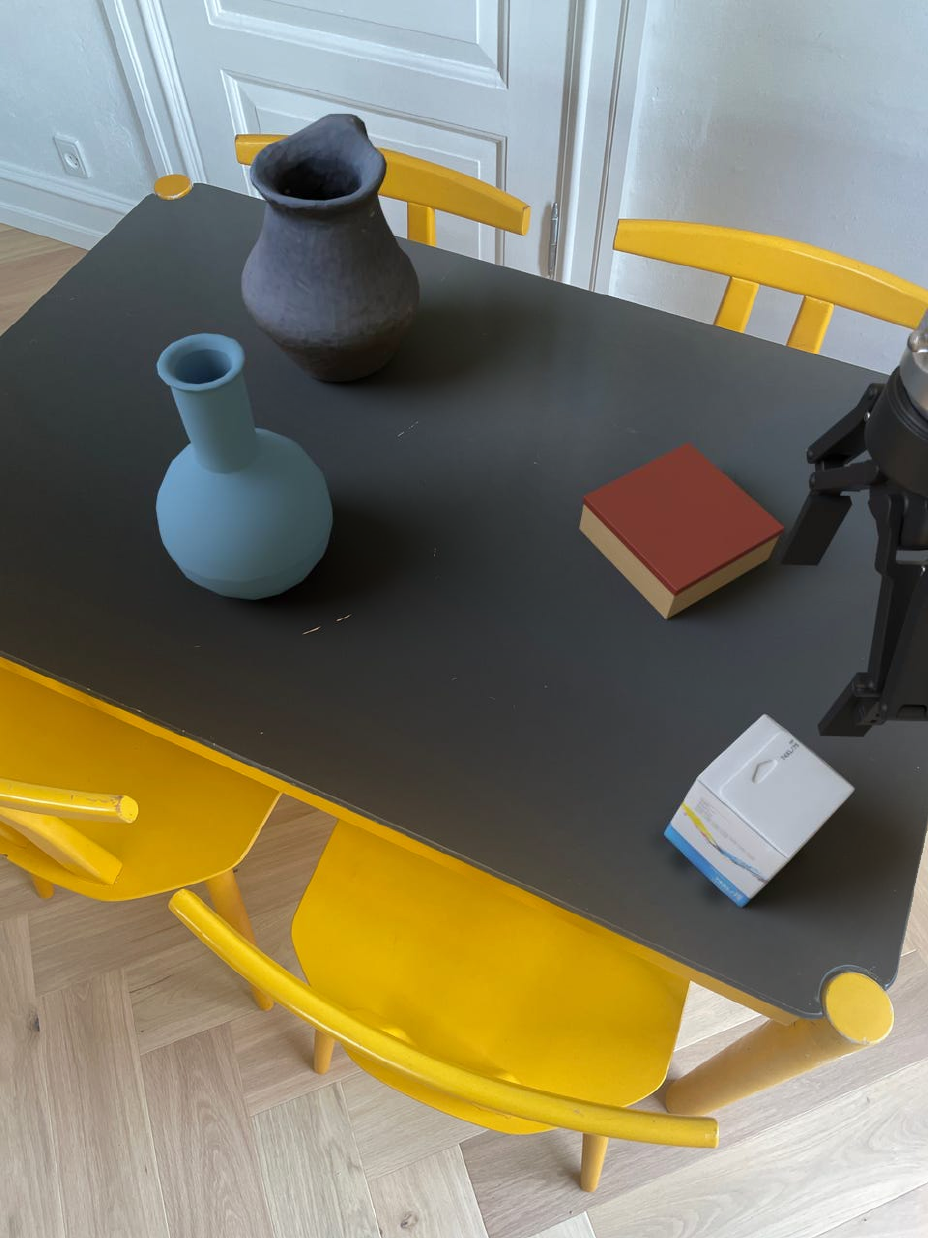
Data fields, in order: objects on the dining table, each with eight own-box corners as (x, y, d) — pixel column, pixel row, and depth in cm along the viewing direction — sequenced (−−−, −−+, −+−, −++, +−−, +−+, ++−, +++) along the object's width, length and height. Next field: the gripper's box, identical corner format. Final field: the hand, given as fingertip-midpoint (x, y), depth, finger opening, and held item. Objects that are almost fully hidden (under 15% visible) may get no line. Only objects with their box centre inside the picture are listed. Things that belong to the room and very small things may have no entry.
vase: (364, 518, 92) (337, 318, 71) (301, 641, 83) (250, 454, 62) (223, 482, 94) (159, 280, 74) (148, 598, 85) (51, 405, 65)
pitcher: (232, 395, 102) (176, 191, 82) (294, 288, 114) (259, 86, 94) (397, 424, 100) (383, 221, 79) (444, 311, 112) (441, 109, 91)
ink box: (741, 911, 69) (787, 863, 59) (660, 833, 72) (692, 777, 63) (805, 843, 72) (859, 787, 62) (725, 772, 75) (765, 709, 66)
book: (769, 559, 89) (785, 527, 85) (665, 621, 84) (676, 590, 80) (678, 475, 96) (688, 442, 91) (577, 528, 91) (583, 496, 87)
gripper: (836, 239, 47) (733, 500, 65) (978, 609, 33) (798, 815, 51) (972, 242, 47) (832, 503, 65) (1173, 613, 33) (925, 819, 51)
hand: (817, 640), depth 58 cm, fingers open, 13 cm apart
